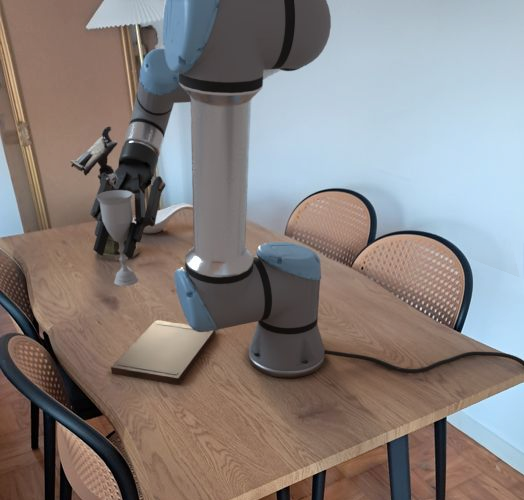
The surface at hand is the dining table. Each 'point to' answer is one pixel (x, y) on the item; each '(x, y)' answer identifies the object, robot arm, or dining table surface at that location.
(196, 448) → the dining table surface
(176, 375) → the serving board
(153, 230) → the spoon rest
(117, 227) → the chalice
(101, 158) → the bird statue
